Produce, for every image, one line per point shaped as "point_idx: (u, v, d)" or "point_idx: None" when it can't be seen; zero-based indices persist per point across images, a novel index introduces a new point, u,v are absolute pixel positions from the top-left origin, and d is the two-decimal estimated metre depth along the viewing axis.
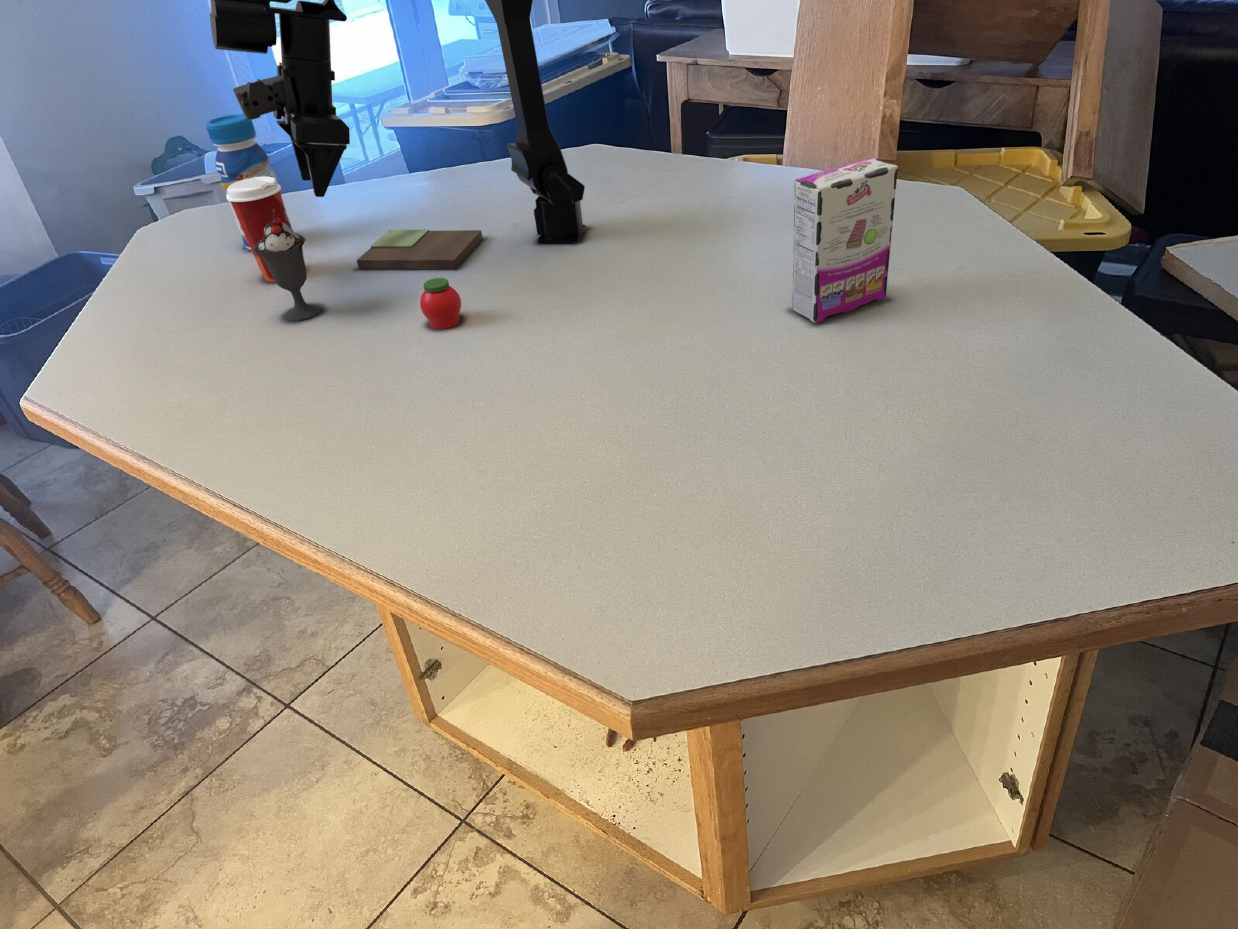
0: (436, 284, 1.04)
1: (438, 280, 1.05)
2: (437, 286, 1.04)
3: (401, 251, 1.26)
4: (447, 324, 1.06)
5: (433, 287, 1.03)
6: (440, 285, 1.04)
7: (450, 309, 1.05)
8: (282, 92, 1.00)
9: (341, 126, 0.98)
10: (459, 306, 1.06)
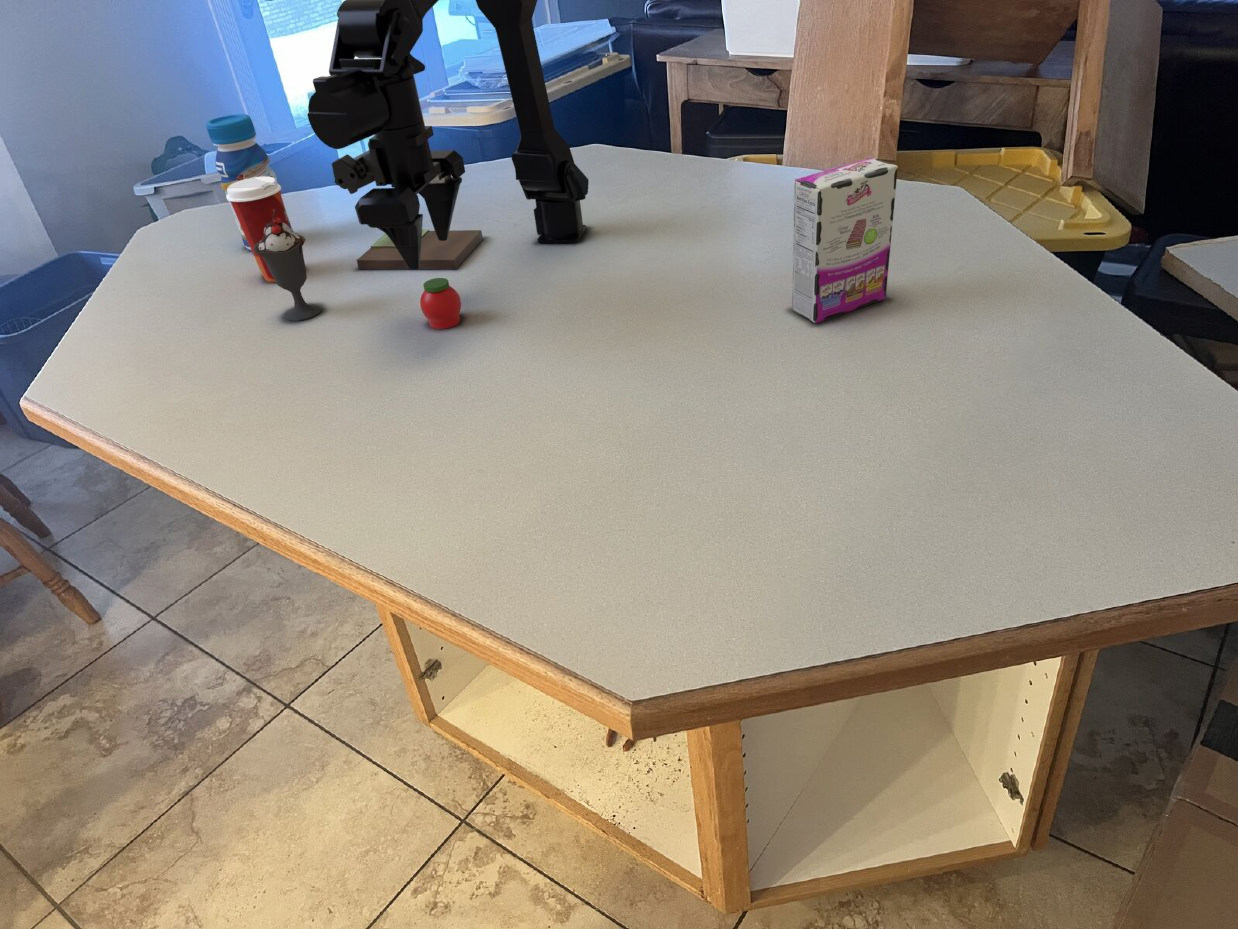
0: (436, 284, 1.04)
1: (438, 280, 1.05)
2: (437, 286, 1.04)
3: None
4: (447, 324, 1.06)
5: (433, 287, 1.03)
6: (440, 285, 1.04)
7: (450, 309, 1.05)
8: (370, 165, 0.94)
9: (394, 205, 0.89)
10: (459, 306, 1.06)
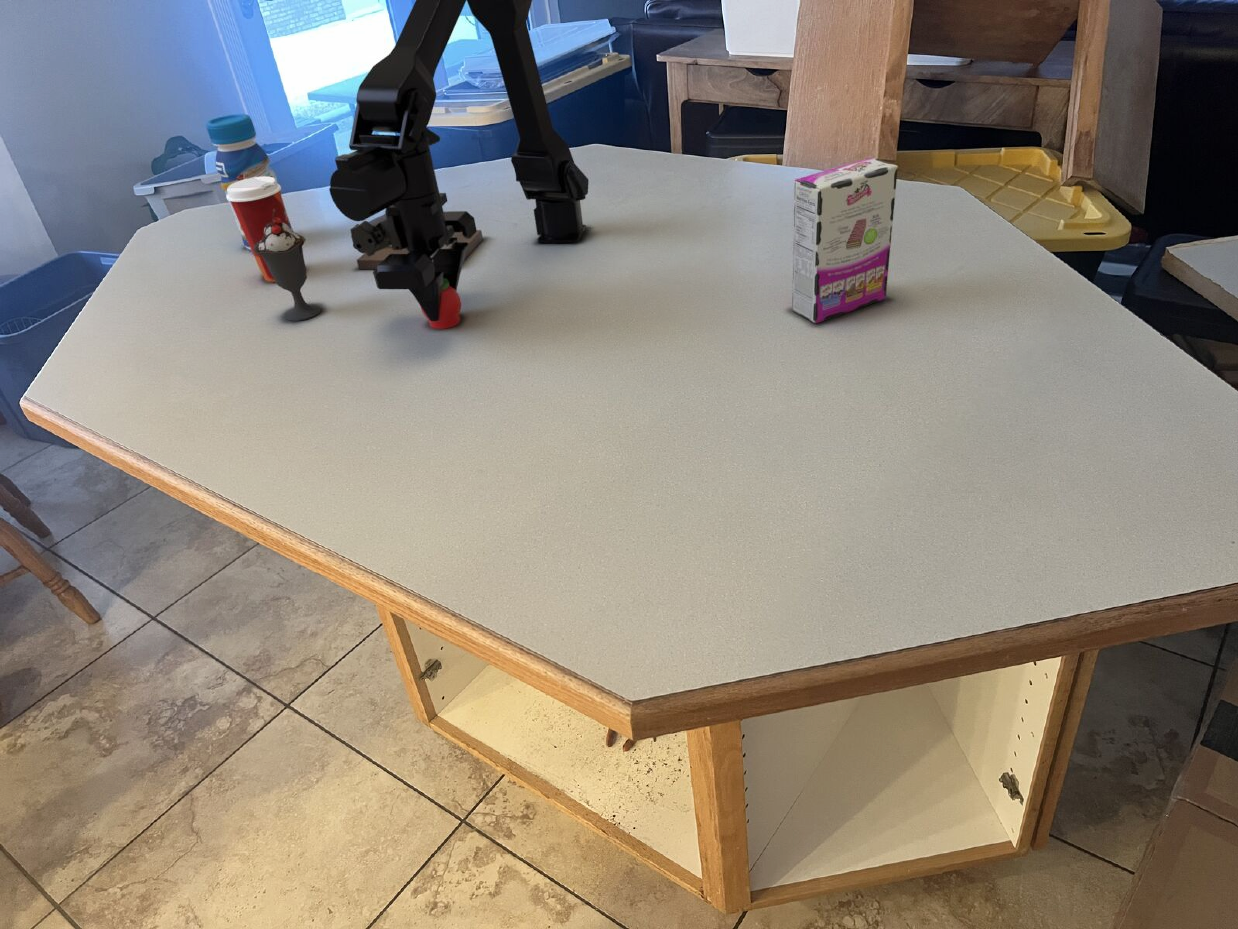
0: None
1: None
2: None
3: (401, 251, 1.26)
4: (447, 324, 1.06)
5: None
6: None
7: (450, 309, 1.05)
8: (387, 230, 0.99)
9: (411, 272, 0.94)
10: (459, 306, 1.06)
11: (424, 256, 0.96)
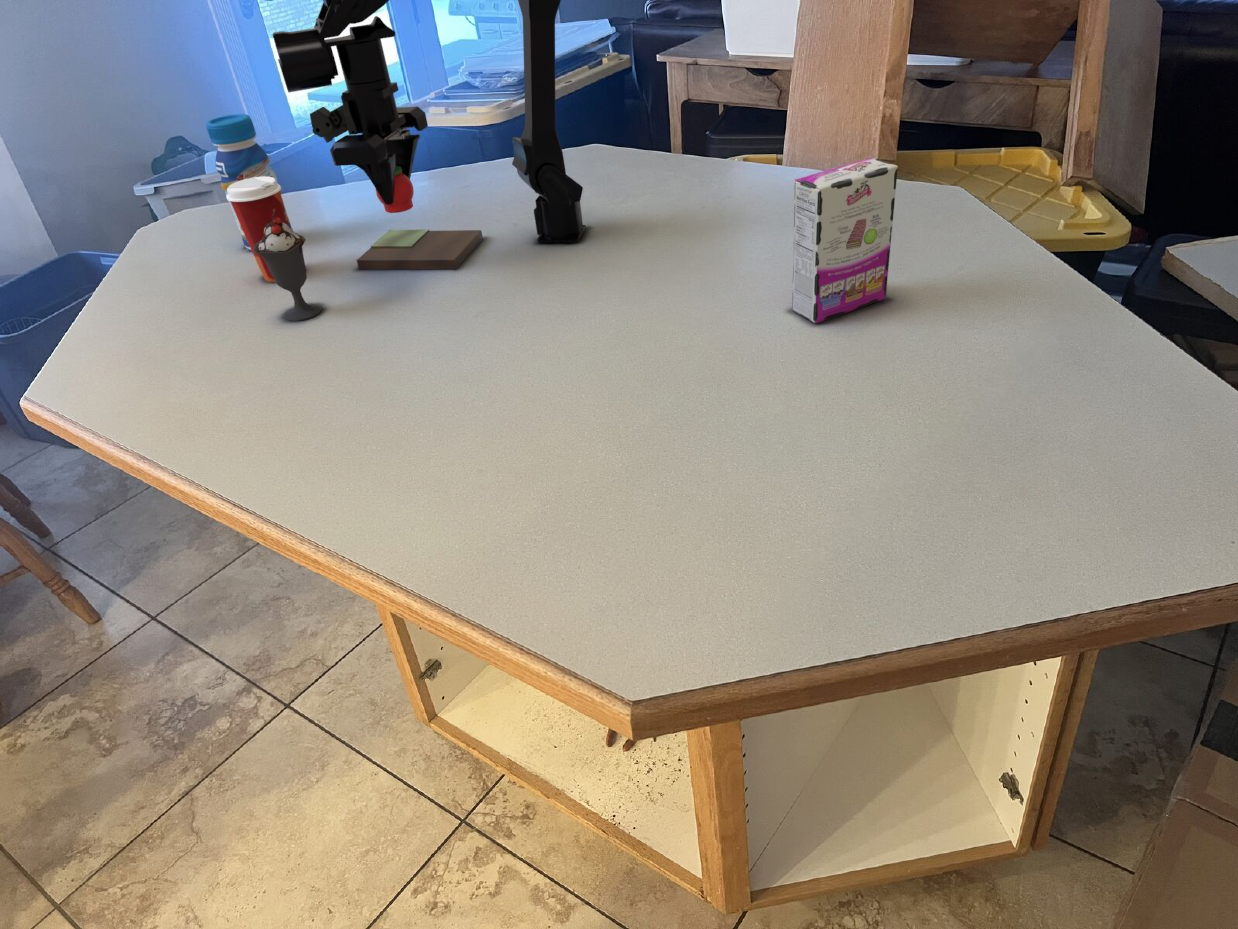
0: None
1: None
2: None
3: (401, 251, 1.26)
4: (401, 208, 1.16)
5: None
6: None
7: (403, 193, 1.15)
8: (343, 116, 1.09)
9: (364, 148, 1.04)
10: (411, 191, 1.16)
11: (376, 135, 1.06)
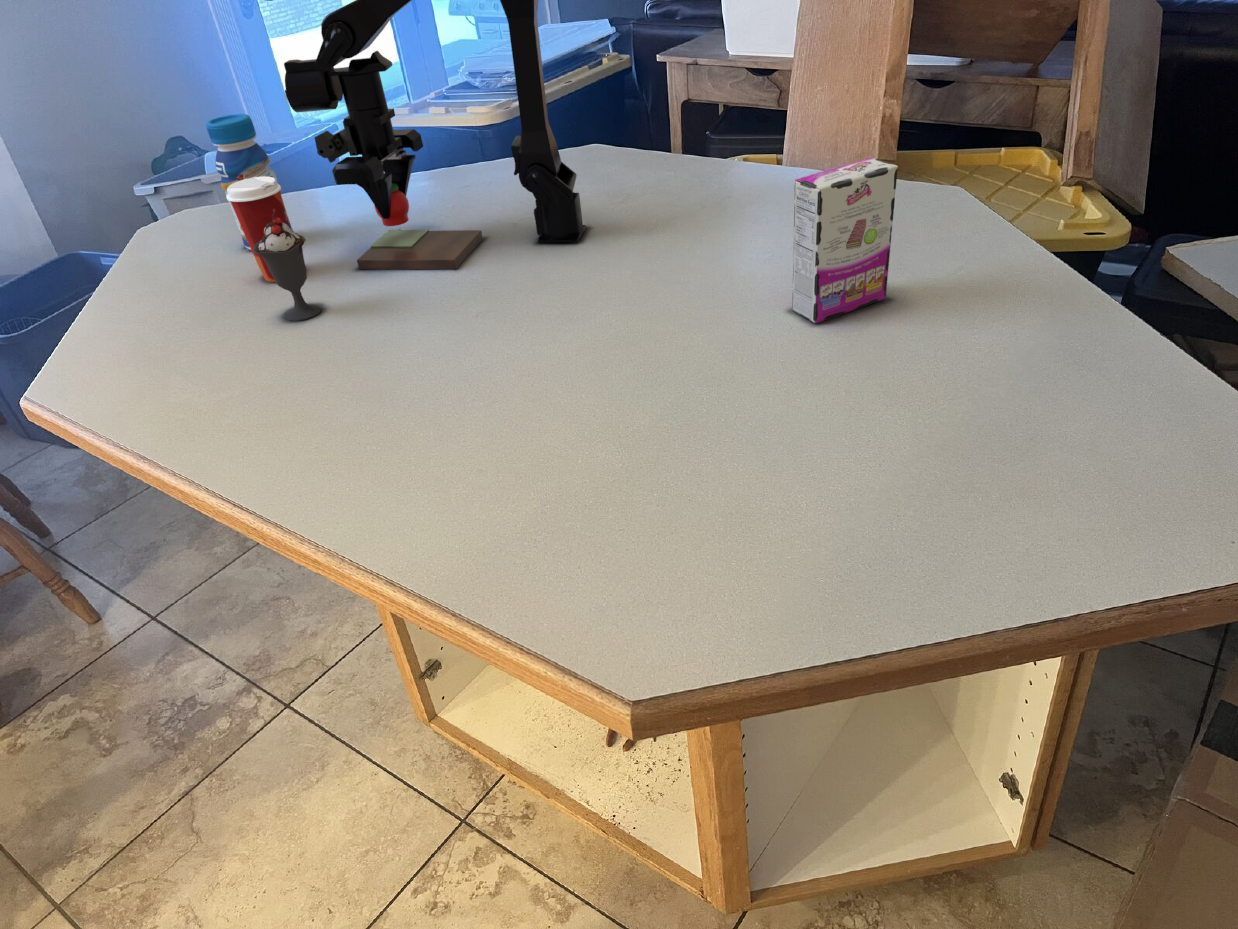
0: None
1: None
2: None
3: (401, 251, 1.26)
4: (397, 222, 1.27)
5: None
6: None
7: (399, 208, 1.26)
8: (345, 139, 1.20)
9: (362, 169, 1.15)
10: (407, 207, 1.27)
11: (374, 158, 1.17)
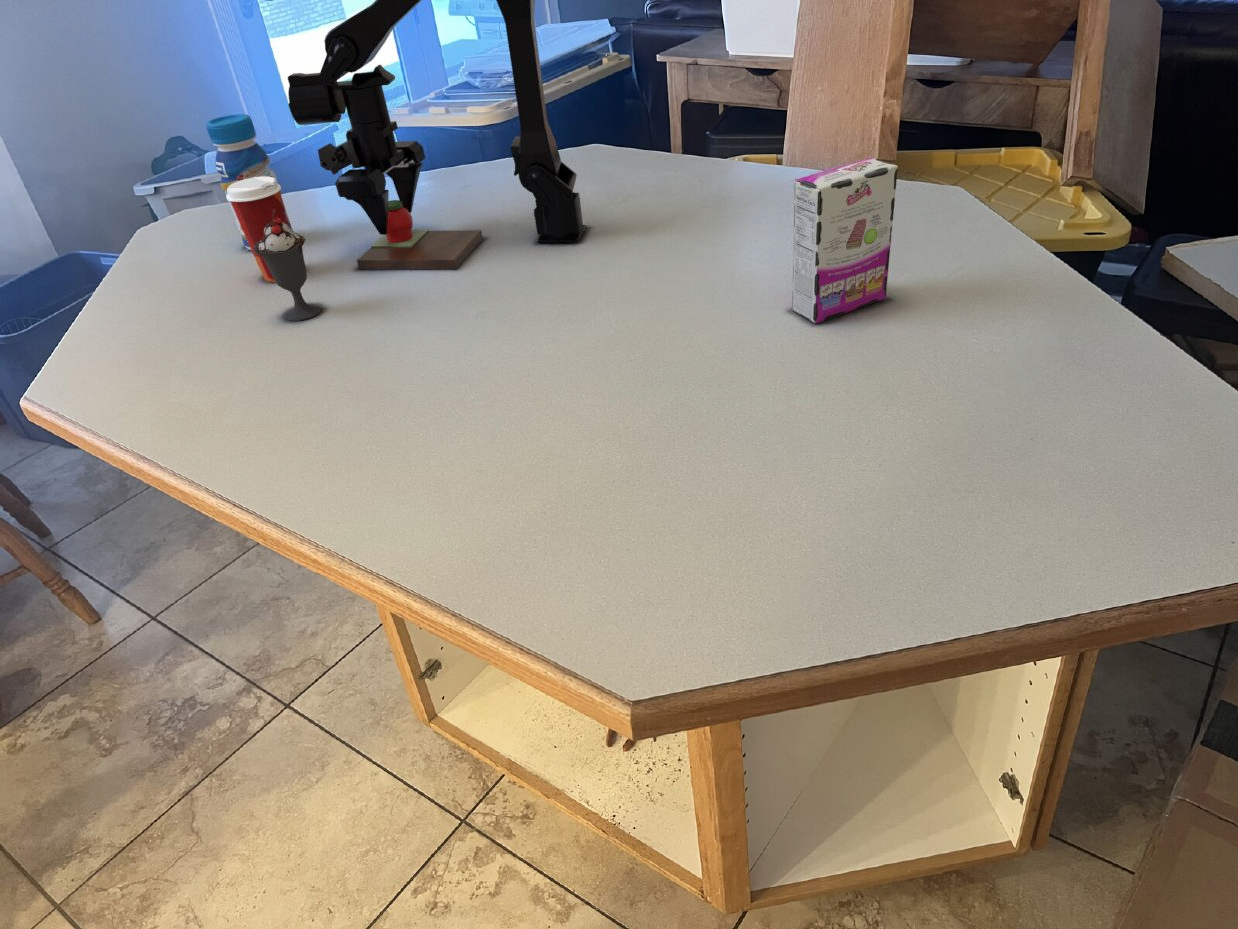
0: (391, 204, 1.27)
1: (393, 202, 1.28)
2: (391, 205, 1.26)
3: (401, 251, 1.26)
4: (401, 238, 1.29)
5: (388, 206, 1.26)
6: (394, 205, 1.27)
7: (403, 225, 1.27)
8: (348, 151, 1.21)
9: (365, 182, 1.16)
10: (411, 223, 1.29)
11: (377, 170, 1.18)
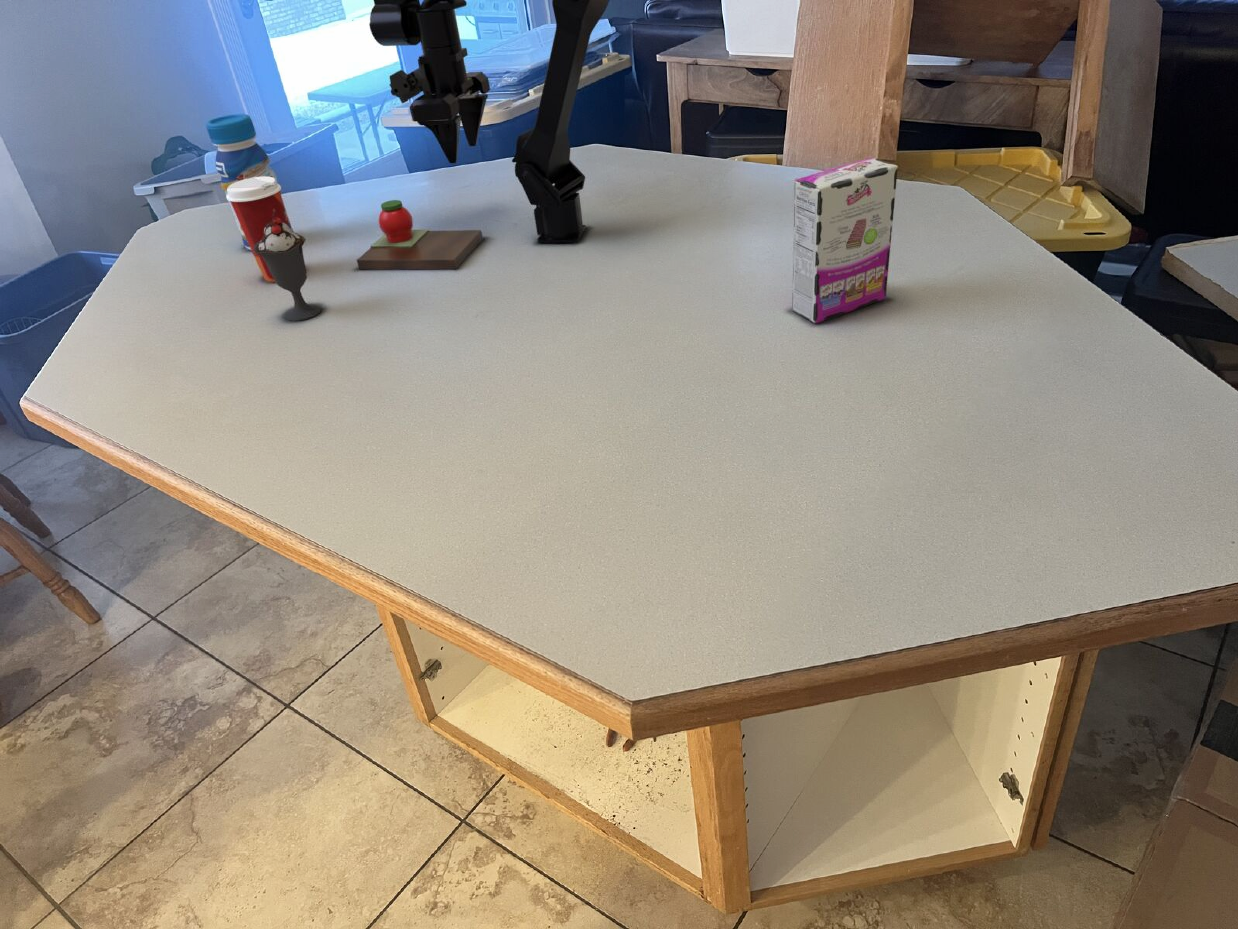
0: (391, 204, 1.27)
1: (393, 202, 1.28)
2: (391, 205, 1.26)
3: (401, 251, 1.26)
4: (401, 238, 1.29)
5: (388, 206, 1.26)
6: (394, 205, 1.27)
7: (403, 225, 1.27)
8: (419, 78, 1.21)
9: (441, 104, 1.16)
10: (411, 223, 1.29)
11: (450, 94, 1.18)
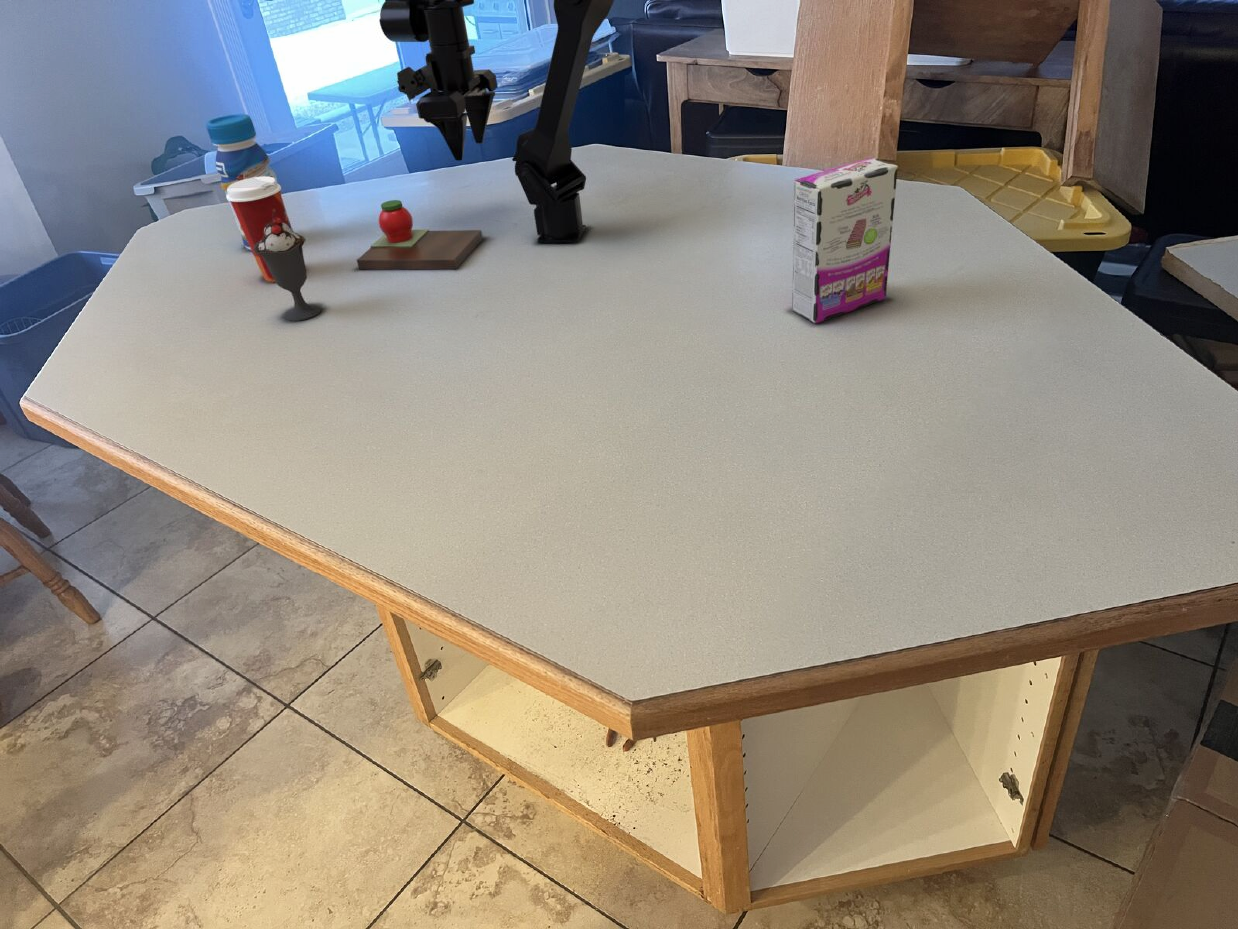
0: (391, 204, 1.27)
1: (393, 202, 1.28)
2: (391, 205, 1.26)
3: (401, 251, 1.26)
4: (401, 238, 1.29)
5: (388, 206, 1.26)
6: (394, 205, 1.27)
7: (403, 225, 1.27)
8: (426, 75, 1.22)
9: (447, 102, 1.16)
10: (411, 223, 1.29)
11: (457, 92, 1.19)
